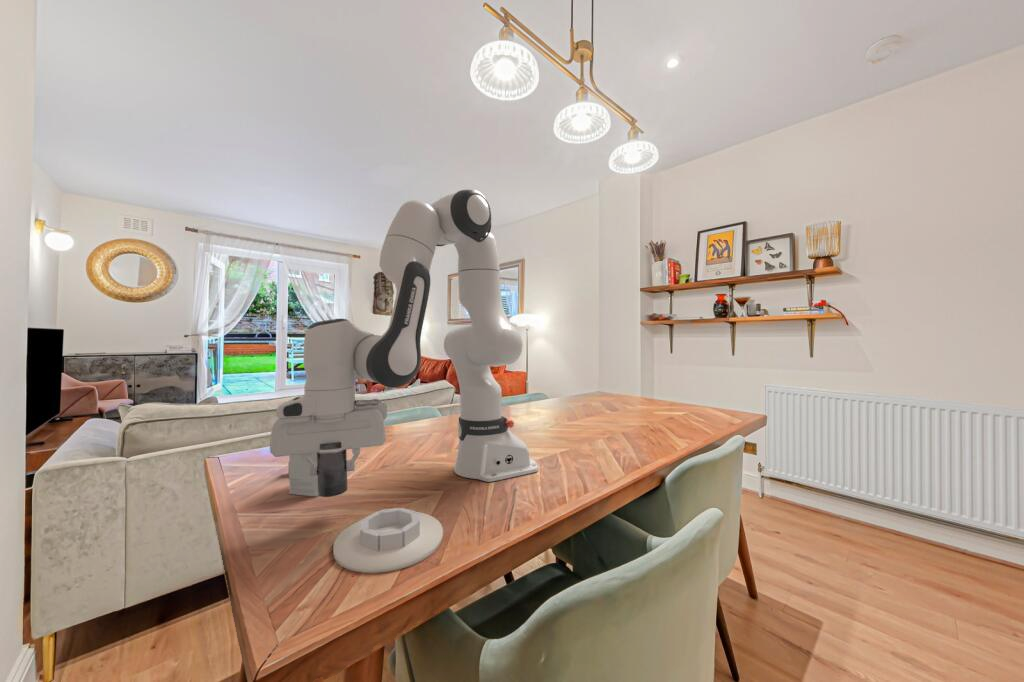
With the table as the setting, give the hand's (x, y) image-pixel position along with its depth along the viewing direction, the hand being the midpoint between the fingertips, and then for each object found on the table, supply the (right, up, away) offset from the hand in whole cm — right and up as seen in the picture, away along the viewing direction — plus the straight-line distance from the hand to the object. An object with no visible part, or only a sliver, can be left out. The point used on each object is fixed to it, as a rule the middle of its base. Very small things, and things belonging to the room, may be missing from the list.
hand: (332, 472), depth 74 cm
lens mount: (+14, -9, -8) cm, 18 cm away
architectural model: (-19, -9, +23) cm, 32 cm away
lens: (0, -4, 0) cm, 4 cm away
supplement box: (-11, -9, +14) cm, 20 cm away
